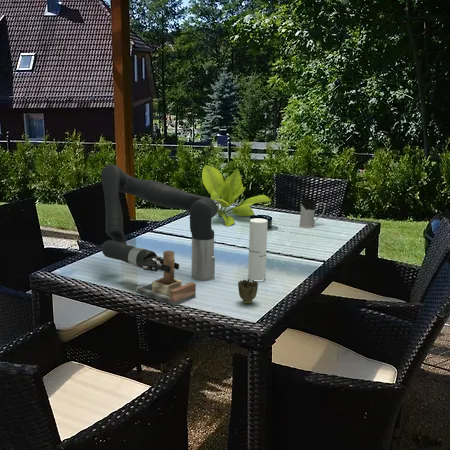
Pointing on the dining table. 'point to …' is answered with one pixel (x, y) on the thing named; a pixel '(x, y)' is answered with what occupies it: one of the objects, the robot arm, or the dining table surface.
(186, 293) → the rail board
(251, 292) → the cup
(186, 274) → the dining table surface
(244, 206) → the artificial plant
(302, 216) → the grey mug
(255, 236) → the cylindrical container
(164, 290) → the sliding block
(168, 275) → the dowel
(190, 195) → the robot arm
